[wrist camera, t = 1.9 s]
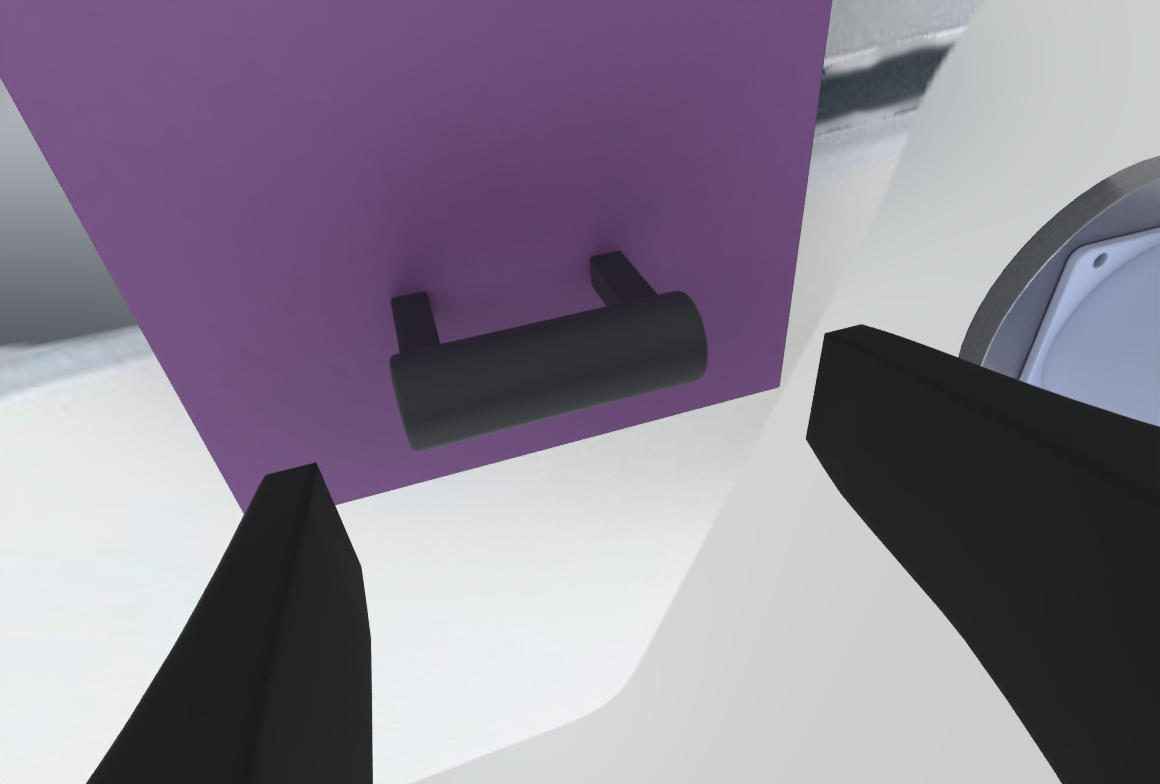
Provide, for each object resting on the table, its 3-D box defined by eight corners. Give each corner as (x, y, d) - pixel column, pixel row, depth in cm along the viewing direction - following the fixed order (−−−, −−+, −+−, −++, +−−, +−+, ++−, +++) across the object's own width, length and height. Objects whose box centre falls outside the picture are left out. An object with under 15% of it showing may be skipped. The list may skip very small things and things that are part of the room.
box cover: (-182, -289, 7) (-600, -449, 4) (853, -324, 10) (1127, -441, 7) (253, 509, 15) (234, 682, 12) (768, 375, 18) (873, 485, 15)
